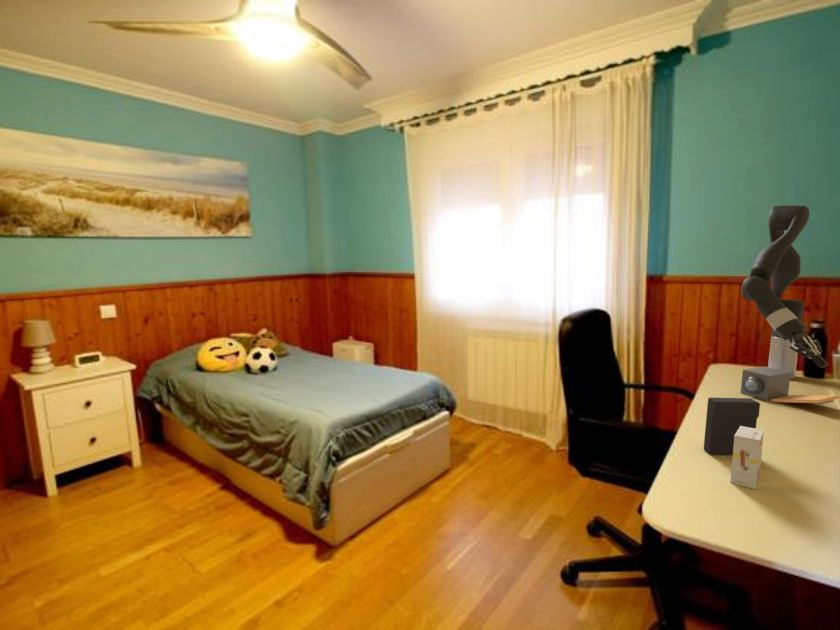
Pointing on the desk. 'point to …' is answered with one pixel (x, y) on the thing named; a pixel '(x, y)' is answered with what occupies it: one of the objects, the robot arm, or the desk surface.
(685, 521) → the desk surface
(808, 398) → the side door
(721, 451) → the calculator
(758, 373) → the camera housing
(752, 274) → the robot arm
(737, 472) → the ink box
